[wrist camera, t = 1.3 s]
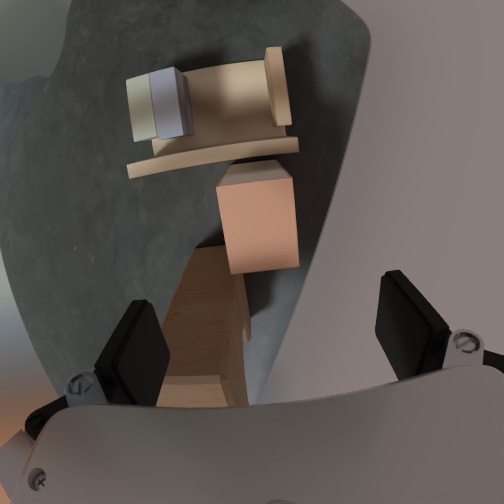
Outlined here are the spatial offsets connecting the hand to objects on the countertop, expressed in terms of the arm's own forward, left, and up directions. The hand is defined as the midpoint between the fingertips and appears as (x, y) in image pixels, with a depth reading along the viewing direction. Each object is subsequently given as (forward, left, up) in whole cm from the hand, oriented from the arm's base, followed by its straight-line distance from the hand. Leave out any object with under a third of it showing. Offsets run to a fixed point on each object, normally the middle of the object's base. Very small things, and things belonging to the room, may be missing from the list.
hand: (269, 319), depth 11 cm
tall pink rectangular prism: (0, 0, -22) cm, 22 cm away
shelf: (-10, -4, -22) cm, 24 cm away
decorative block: (+11, -6, -22) cm, 25 cm away
